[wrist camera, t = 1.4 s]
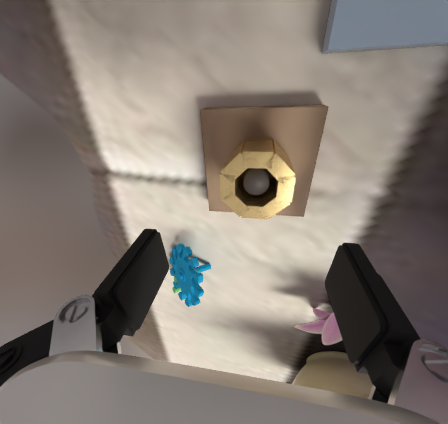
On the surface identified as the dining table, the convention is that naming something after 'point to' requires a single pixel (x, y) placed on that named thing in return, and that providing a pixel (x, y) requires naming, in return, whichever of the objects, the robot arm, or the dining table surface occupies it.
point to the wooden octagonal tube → (257, 158)
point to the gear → (187, 275)
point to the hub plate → (385, 24)
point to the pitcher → (333, 375)
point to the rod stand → (263, 128)
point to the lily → (323, 327)
